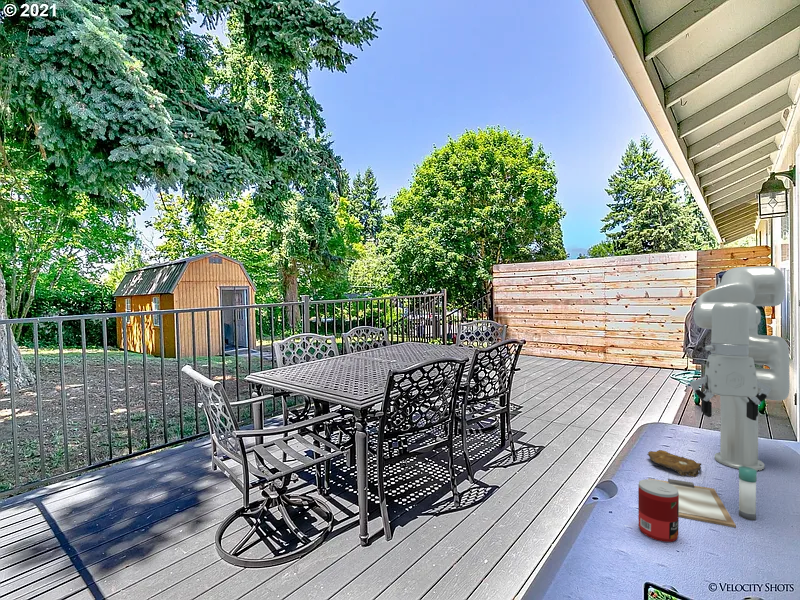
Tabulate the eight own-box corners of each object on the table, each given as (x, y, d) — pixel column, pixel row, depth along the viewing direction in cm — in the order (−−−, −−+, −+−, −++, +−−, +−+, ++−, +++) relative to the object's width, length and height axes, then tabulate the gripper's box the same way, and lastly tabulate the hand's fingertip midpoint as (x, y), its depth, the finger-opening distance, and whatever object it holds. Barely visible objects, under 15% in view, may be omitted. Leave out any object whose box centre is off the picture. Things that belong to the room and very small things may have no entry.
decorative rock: (638, 465, 135) (691, 483, 123) (638, 453, 135) (691, 470, 123) (654, 455, 142) (706, 471, 130) (654, 443, 142) (706, 459, 130)
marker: (736, 512, 105) (736, 465, 105) (753, 515, 104) (753, 467, 104) (740, 518, 102) (741, 470, 102) (758, 521, 101) (758, 473, 101)
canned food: (679, 547, 91) (679, 497, 91) (637, 535, 96) (637, 488, 95) (677, 529, 98) (678, 483, 98) (638, 520, 102) (638, 476, 102)
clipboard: (648, 480, 123) (648, 475, 123) (714, 490, 117) (714, 485, 116) (657, 512, 105) (657, 507, 105) (735, 527, 98) (735, 521, 98)
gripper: (697, 350, 105) (696, 418, 105) (779, 354, 100) (778, 424, 100) (685, 347, 112) (684, 411, 112) (761, 350, 108) (760, 416, 108)
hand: (729, 417), depth 106 cm, fingers open, 9 cm apart
